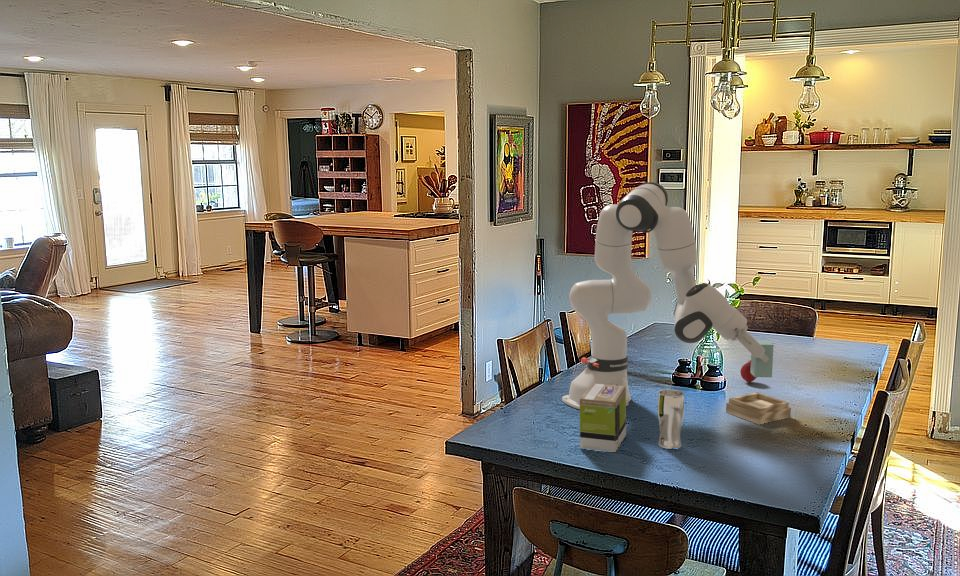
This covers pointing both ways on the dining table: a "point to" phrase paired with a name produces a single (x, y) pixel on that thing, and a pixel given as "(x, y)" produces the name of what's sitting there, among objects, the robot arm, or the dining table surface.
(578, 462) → the dining table surface
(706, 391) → the dining table surface
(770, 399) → the tray
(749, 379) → the onion
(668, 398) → the beer glass
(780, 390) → the dining table surface
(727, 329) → the robot arm
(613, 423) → the tea box
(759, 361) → the block
